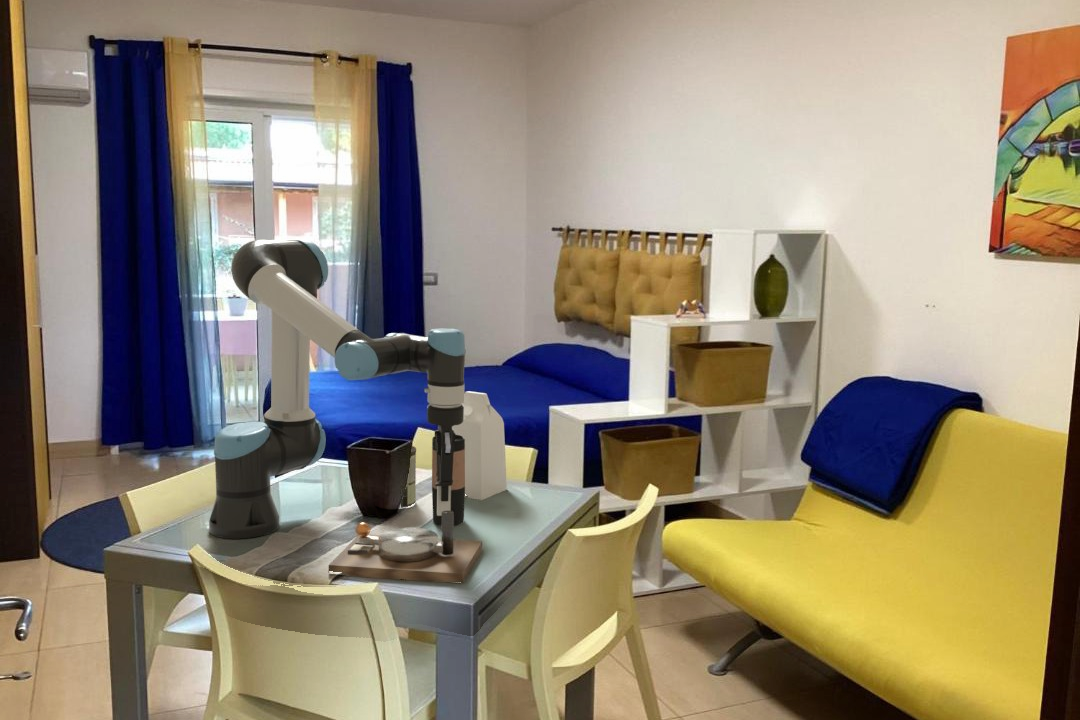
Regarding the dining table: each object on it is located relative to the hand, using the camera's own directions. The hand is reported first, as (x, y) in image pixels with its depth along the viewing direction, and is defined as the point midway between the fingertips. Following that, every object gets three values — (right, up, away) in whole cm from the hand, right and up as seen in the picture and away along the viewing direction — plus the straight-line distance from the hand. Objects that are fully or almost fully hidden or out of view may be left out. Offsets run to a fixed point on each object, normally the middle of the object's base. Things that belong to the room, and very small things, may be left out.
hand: (443, 514), depth 195 cm
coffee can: (-16, -3, +35) cm, 38 cm away
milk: (+3, -2, +47) cm, 48 cm away
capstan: (-7, -7, -4) cm, 11 cm away
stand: (-7, -9, -4) cm, 12 cm away
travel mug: (-1, -6, +22) cm, 23 cm away
